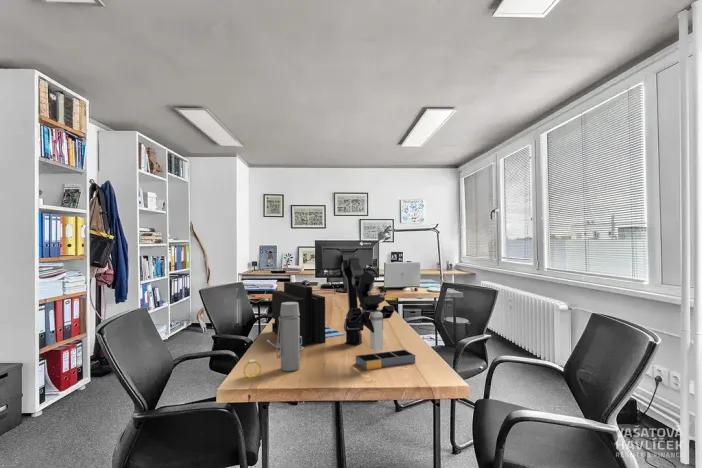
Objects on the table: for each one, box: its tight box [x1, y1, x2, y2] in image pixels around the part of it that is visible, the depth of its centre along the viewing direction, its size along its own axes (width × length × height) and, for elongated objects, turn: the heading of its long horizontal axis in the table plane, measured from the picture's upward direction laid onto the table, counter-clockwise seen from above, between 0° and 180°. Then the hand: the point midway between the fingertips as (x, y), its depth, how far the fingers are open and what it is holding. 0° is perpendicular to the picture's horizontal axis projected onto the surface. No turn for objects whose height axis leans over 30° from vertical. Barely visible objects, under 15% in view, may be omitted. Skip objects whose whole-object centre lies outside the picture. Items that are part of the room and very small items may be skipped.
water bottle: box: [275, 302, 301, 372], centre depth 147 cm, size 9×8×25 cm
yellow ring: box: [243, 359, 262, 379], centre depth 139 cm, size 6×3×6 cm, turn 106°
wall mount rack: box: [266, 336, 304, 351], centre depth 173 cm, size 16×14×6 cm
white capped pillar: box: [369, 312, 384, 351], centre depth 150 cm, size 4×4×14 cm
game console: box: [271, 281, 346, 347], centre depth 200 cm, size 35×30×27 cm
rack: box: [355, 349, 416, 371], centre depth 151 cm, size 22×9×4 cm, turn 111°
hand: (377, 331), depth 149 cm, fingers closed on white capped pillar, 3 cm apart
